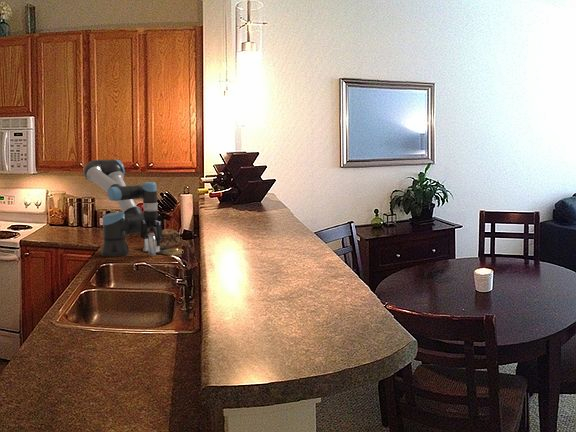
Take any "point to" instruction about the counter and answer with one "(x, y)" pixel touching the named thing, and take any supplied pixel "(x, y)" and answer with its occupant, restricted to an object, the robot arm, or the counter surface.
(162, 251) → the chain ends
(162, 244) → the bread
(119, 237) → the robot arm
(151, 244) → the pin
